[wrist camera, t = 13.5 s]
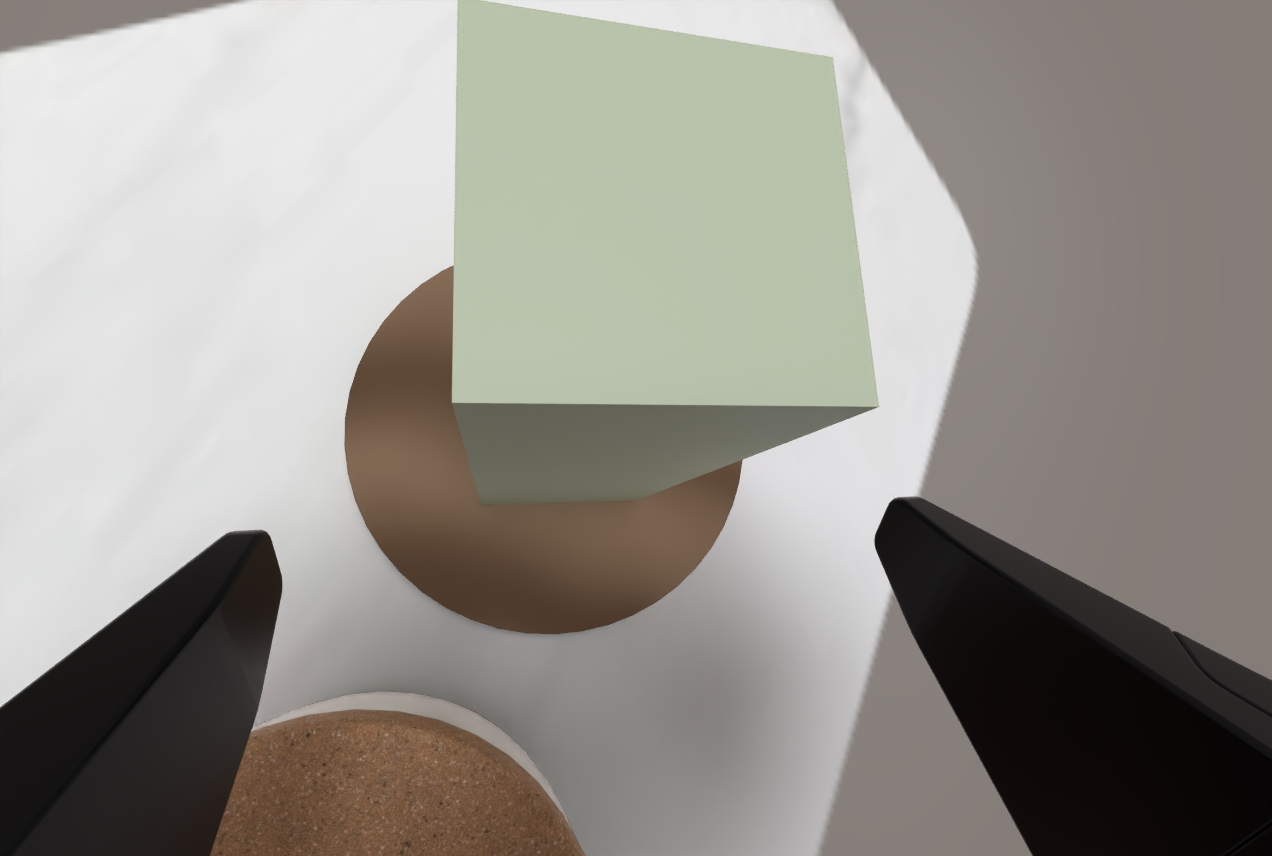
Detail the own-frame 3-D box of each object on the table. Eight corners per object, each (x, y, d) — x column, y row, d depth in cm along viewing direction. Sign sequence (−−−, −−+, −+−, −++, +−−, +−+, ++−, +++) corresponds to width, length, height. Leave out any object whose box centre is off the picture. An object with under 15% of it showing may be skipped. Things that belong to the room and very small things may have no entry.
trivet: (711, 646, 21) (727, 653, 19) (311, 606, 18) (296, 610, 17) (740, 305, 24) (755, 289, 22) (401, 230, 21) (395, 206, 20)
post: (636, 500, 20) (878, 406, 7) (480, 505, 18) (451, 402, 6) (630, 356, 21) (832, 57, 8) (481, 352, 19) (457, -4, 7)
